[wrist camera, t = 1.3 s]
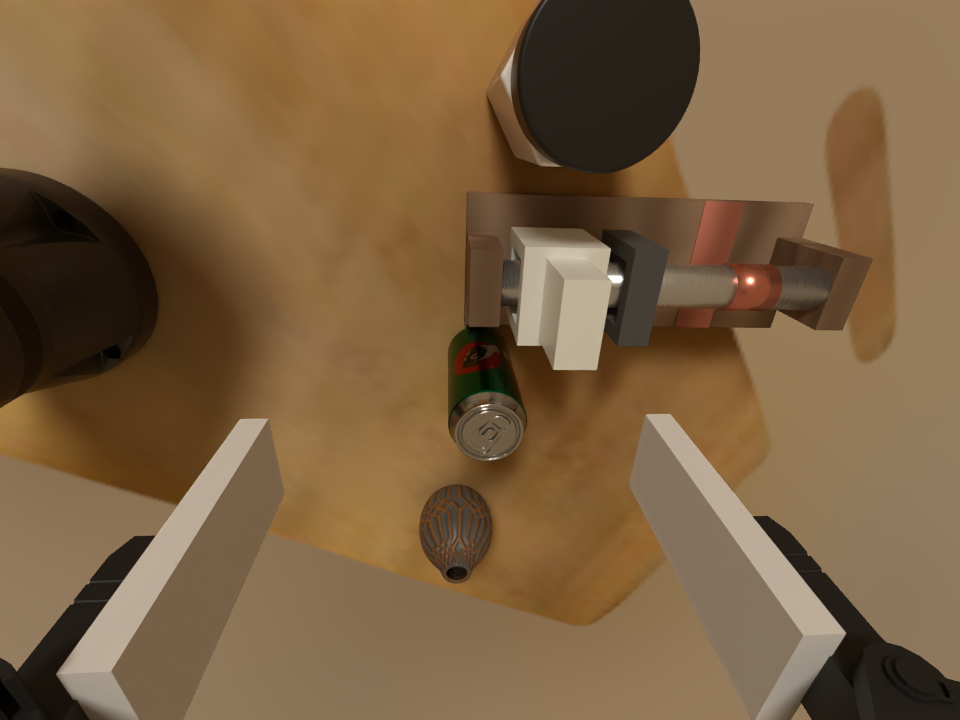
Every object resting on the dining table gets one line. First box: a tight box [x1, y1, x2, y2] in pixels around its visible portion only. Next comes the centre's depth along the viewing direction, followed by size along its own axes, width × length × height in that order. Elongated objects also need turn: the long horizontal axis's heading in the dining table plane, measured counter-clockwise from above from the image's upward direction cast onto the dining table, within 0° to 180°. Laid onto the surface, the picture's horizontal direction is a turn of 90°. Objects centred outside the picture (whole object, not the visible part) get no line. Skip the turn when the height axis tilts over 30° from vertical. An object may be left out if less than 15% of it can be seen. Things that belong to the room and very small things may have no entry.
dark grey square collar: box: [601, 229, 669, 347], centre depth 30 cm, size 2×6×6 cm, turn 178°
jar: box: [486, 0, 700, 174], centre depth 25 cm, size 9×8×12 cm
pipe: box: [501, 260, 831, 311], centre depth 30 cm, size 24×3×3 cm, turn 88°
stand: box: [464, 192, 873, 330], centre depth 32 cm, size 26×10×8 cm, turn 88°
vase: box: [419, 485, 492, 583], centre depth 42 cm, size 7×7×9 cm
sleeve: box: [506, 227, 612, 370], centre depth 28 cm, size 5×6×11 cm
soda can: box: [448, 327, 527, 461], centre depth 33 cm, size 5×5×12 cm
